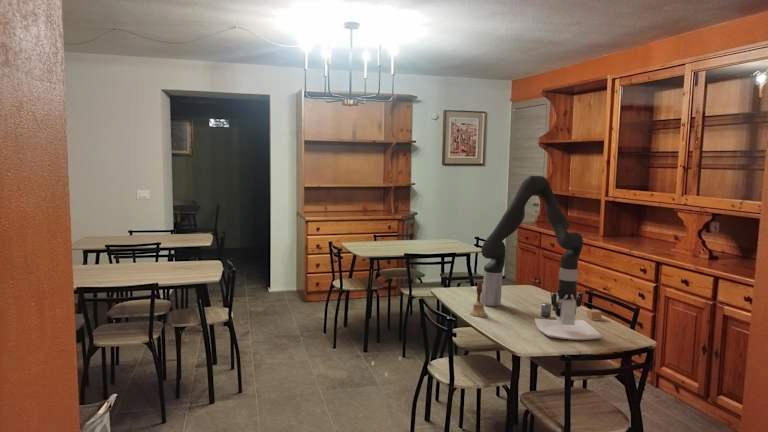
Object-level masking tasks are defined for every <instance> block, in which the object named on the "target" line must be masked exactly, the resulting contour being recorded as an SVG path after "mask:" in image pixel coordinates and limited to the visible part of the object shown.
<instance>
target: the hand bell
mask: <svg viewBox="0 0 768 432" xmlns="http://www.w3.org/2000/svg"><path fill="white" fill-rule="evenodd" d="M482 285H483V284H482V281H478V282H477V285H476V295H477V296H476V302H474V303H473V307H472V310H471V311H469V316H472V317H476V318H485V317H487V316H488V313H487V312H486V311H485V308H484V304H483V303H481V295H482Z"/></svg>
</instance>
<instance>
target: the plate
mask: <svg viewBox="0 0 768 432" xmlns="http://www.w3.org/2000/svg"><path fill="white" fill-rule="evenodd" d="M534 321H535V326H536V327H537V329H538V330H539V331H540V332H541V333H542V334H544V335H546V336H548V337H549V338H555V339H561V340H566V339H568V340H567V341H586V340H587V341H590V340H599V339H601V338H603V335H601V333H599V332H598V331H597V330H596V329H595V328H593V327H592V326H591V325H590V324H588V323H587V322H586V321H585V320H583V319H580V320H579V319H577V320H576V319H575V325H562V324H561V323H560V322H558V321H557V320H556V319H548V318H545V319H544V318H534Z"/></svg>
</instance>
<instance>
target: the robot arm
mask: <svg viewBox="0 0 768 432" xmlns="http://www.w3.org/2000/svg"><path fill="white" fill-rule="evenodd" d="M533 196H536V197H539V198H541V200H542V201H543V203H544V205H545V215H546V218H547V221H548V223H549V224H550V226H551V227H552V229H553V231H554V234H555V235H554V236H555V238H556V242H557V244H558V245H559V247H561V249H563V250H567V251H566V253H563V254H562V255H561V256H560V266H559V272H558V284H557V285H558V286H557V289H558V290H557V292H552V291H551V293H550V296H551V297H550V298H551V299H550V301H551V303H550V304H551V307H553V306H554V307H556V311H554V313H555V316H556V315H557V316H558V317H560V312H561V309H560V307H561V304H562V300H569V299H571V300H574V301H576V310H575V316H576V315H577V308H581V306H582V302H583V297H584V294H583V293H582V292H580V291H577V289H578V288H577V287H578V277H579V276H578V275H579V274H578V266H579V258H580V255H581V254H582V250H583V246H584V238H583V235H582V234H581V233H579V232H577V231H576V232H573V231H572V232H568V229H569V228H570V225H571V224H570V222H569V220H568V219H567V217H566V216H565V214H564V212H563V211H562V210H561V207H560V206H559V204H558V201H557V199H556V197H555V195H554V192H553V190H552V187H551V184H550V182H549V181H548V179H547V178H546V177H545V176H543V175H527V176H526V177H525V178H524V179H523V180H522V182H521V183H520V185H519V188H518V190H517V192H516V193H515V195H514V198H512V201H511V203H510V204H509V206H508V207H507V208H506V211H505V212H504V213H503V215H502V217H501V219H500V220H499V222H498V223H497V224H496V226H495V228H494V230H493V231H492V232H491V233H490V234H489V236H488V237H487V238H486V240H484V242H483V244H482V246H481V255H482V256H483V258H485V259H490V261H488V262H487V263H485V265H484V267H483V284H482V292H481V300H480V301H481V303H483V306H485V307H500V306H501V304H502V303H501V302H502V290H503V289H502V287H503V285H502V284H503V269H504V267H505V261H506V252H507V250H506V245H505V243H504V242H503V241H504V240H505V239H507V238H508V237H510V236H511V235H512V234H514V233H515V232H516V231H517V230H518V229H519V228H520V226H521V225H522V223H523V221H524V219H525V214H526V213H525V212H526V211H525V209H526V205H527V203H528V202H529V200H530V199H531V198H532V197H533ZM557 297H559V298H558V300H557ZM575 298H576V299H575ZM560 299H561V301H560Z"/></svg>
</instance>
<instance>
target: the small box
mask: <svg viewBox="0 0 768 432" xmlns="http://www.w3.org/2000/svg"><path fill="white" fill-rule="evenodd" d="M558 298H559V296H557V298H556V301H557V300H558ZM560 301H561V299H560ZM560 309H561V312H560V317H558V316H557V315H556V314H555V320H557V321H558V322H560V323H561V324H562V325H575V320H576V315H575V310H576V311H577V308H576V300H575V301H574V300H571V299H569V300H562V304H561V307H560Z"/></svg>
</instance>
